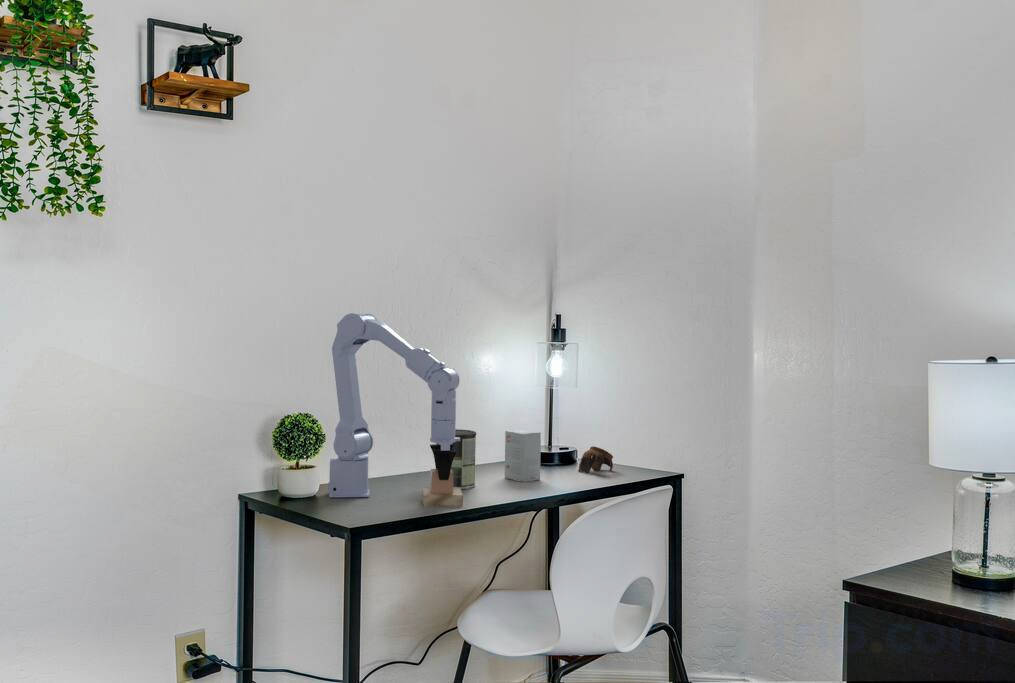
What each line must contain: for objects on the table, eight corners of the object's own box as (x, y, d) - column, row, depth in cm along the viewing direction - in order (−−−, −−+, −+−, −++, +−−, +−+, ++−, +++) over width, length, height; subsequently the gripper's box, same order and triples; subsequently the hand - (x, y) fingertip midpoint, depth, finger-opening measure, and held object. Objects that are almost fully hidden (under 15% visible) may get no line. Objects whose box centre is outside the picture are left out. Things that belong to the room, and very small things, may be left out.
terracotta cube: (431, 493, 201) (431, 472, 201) (430, 489, 206) (430, 468, 206) (453, 493, 202) (453, 472, 202) (451, 489, 207) (451, 468, 207)
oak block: (423, 508, 199) (423, 495, 199) (422, 500, 208) (422, 488, 208) (462, 508, 200) (462, 495, 200) (459, 500, 209) (459, 487, 209)
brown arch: (573, 470, 254) (584, 445, 256) (601, 485, 254) (613, 460, 257) (581, 466, 243) (593, 440, 245) (611, 482, 243) (623, 455, 245)
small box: (540, 480, 235) (541, 432, 235) (522, 482, 231) (523, 433, 231) (521, 475, 242) (522, 429, 241) (503, 478, 238) (504, 430, 237)
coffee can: (442, 490, 218) (443, 434, 218) (431, 483, 228) (431, 429, 228) (481, 488, 222) (481, 433, 222) (468, 481, 231) (469, 428, 231)
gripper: (463, 422, 197) (462, 482, 198) (457, 416, 212) (456, 471, 212) (432, 422, 196) (431, 482, 197) (428, 416, 211) (427, 471, 211)
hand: (442, 476), depth 204 cm, fingers open, 7 cm apart
